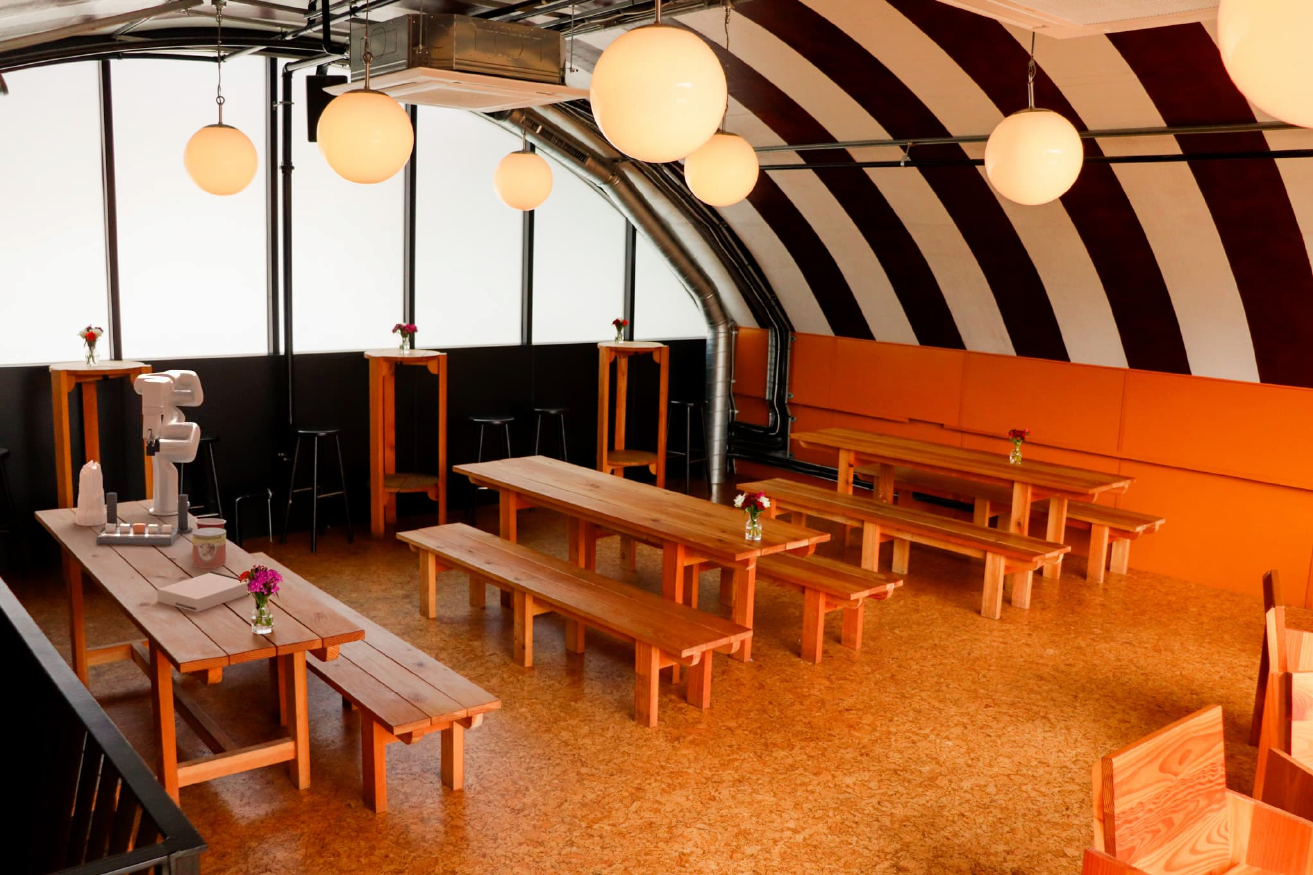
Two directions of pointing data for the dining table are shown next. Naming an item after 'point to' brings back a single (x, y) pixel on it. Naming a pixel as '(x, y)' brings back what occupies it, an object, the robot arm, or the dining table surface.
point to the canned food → (209, 547)
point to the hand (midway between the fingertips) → (153, 453)
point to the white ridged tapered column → (91, 496)
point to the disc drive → (203, 591)
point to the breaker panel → (138, 535)
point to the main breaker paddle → (139, 527)
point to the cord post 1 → (111, 509)
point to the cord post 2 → (183, 514)
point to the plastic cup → (210, 523)
